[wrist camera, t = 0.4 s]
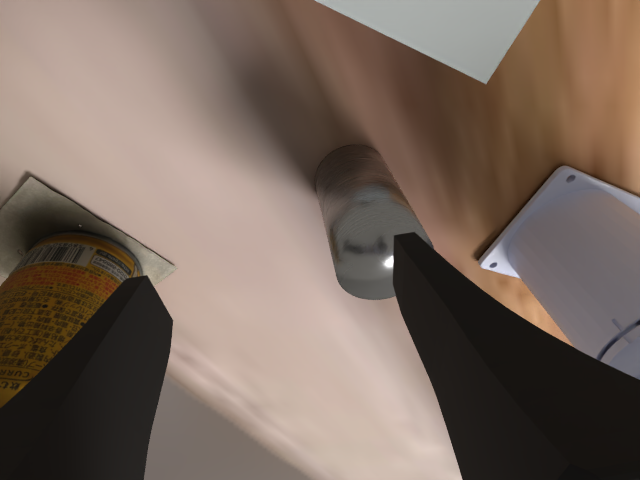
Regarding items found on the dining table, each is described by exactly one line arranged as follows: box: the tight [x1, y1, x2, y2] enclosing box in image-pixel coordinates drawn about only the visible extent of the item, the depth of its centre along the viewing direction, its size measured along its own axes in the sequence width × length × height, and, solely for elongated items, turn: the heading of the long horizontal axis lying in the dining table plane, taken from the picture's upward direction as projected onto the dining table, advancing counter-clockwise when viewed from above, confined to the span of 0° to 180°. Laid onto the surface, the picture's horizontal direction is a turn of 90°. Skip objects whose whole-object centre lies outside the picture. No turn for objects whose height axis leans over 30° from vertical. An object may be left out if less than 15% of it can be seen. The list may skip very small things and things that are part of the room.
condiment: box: [0, 177, 178, 408], centre depth 17 cm, size 7×8×12 cm
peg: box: [315, 145, 434, 300], centre depth 17 cm, size 4×4×7 cm
